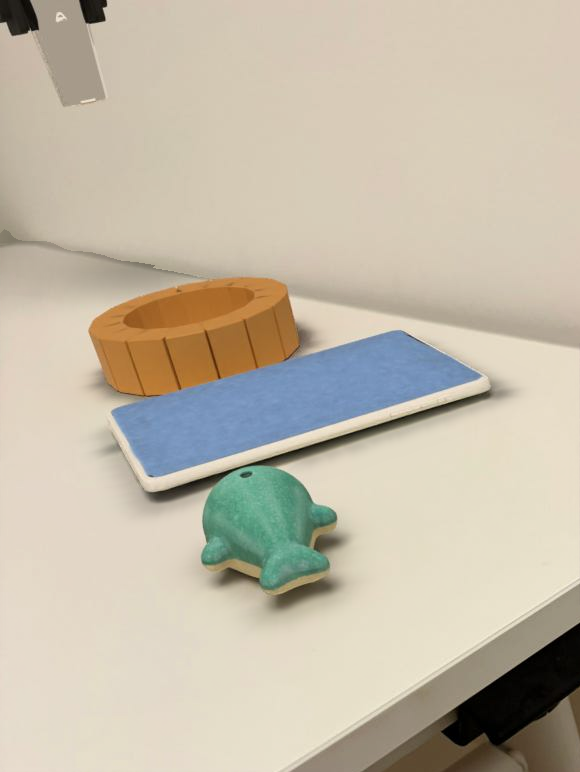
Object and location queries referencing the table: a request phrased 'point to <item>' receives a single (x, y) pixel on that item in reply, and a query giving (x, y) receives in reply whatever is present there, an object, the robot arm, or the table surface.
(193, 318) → the segmented bracelet
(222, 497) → the whale figurine
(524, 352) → the table surface
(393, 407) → the tablet
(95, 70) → the milkshake
